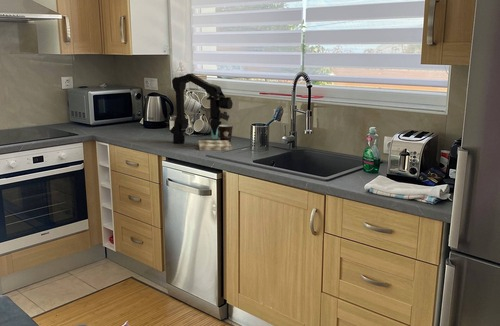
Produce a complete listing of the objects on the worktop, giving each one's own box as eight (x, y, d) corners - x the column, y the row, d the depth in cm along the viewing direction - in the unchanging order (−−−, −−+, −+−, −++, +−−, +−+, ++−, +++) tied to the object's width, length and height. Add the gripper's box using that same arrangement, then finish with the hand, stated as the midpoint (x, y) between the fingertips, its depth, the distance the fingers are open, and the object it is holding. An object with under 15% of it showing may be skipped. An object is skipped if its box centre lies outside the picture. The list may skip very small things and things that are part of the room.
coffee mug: (234, 140, 316) (234, 125, 314) (229, 143, 308) (229, 127, 306) (217, 139, 320) (217, 123, 318) (212, 141, 312) (212, 125, 310)
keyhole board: (199, 150, 284) (199, 146, 283) (198, 144, 301) (198, 140, 300) (231, 150, 286) (231, 145, 286) (228, 144, 304) (228, 140, 303)
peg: (210, 139, 290) (210, 123, 288) (210, 137, 294) (210, 122, 292) (218, 138, 290) (219, 123, 288) (218, 137, 295) (218, 122, 293)
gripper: (230, 109, 281) (229, 137, 284) (227, 106, 299) (226, 132, 302) (210, 109, 279) (210, 137, 282) (208, 106, 297) (208, 131, 300)
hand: (214, 134), depth 292 cm, fingers closed on peg, 4 cm apart
